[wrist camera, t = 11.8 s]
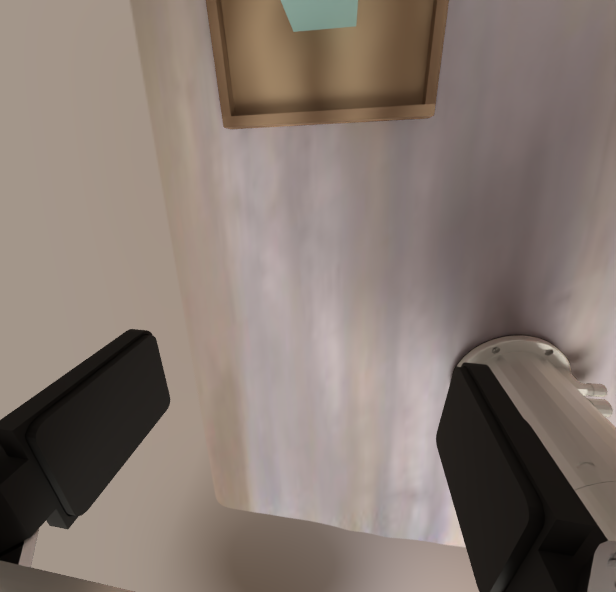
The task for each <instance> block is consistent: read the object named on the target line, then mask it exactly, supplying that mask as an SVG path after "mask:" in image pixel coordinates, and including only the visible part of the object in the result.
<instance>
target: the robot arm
mask: <svg viewBox="0 0 616 592" xmlns="http://www.w3.org/2000/svg"><path fill="white" fill-rule="evenodd" d="M585 395H588V396H596V397H605V396H606V395H607V389H606V387H605V386H604V385H602V384H592V383H587V384H581V383H580V382H579V381H578V380H577V379H576V378H575V377H573V376H572V375H571V367H570V364H569V361H568V360H567V358H566V357H565V355H564V354H563V353H562V352H561V351H560V350H559V349H557V348H556V347H555V346H554V345H552V344H551V343H549V342H547V341H545V340H542V339H540V338H536V337H531V336H517V335H515V336H506V337H501V338H497V339H493V340H491V341H488V342H486V343H483V344H481V345H480V346H478V347H476V348H474V349H473V350H472V351H470V352H469V353H468V354H467V355H465V356H464V358H463V359H462V360H461V361H460V362H459V364H458V365H457V367H456V368H455V369H454V372H453V376H452V379H451V383H450V387H449V390H448V394H447V398H446V401H445V405H444V409H443V412H442V416H441V420H440V423H439V427H438V431H437V435H436V443H437V448H438V452H439V455H440V459H441V462H442V465H443V469H444V472H445V476H446V479H447V483H448V486H449V490H450V493H451V497H452V500H453V504H454V507H455V510H456V514H457V517H458V521H459V524H460V528H461V531H462V535H463V538H464V542H465V545H466V549H467V552H468V555H469V559H470V562H471V566H472V569H473V572H474V576H475V580H476V583H477V586H478V589H479V591H480V592H616V427H615V426H614V425H613V424H612V423H611V422H610V421H609V420H608V419H606V418H605V417H610V416H611V415H612V411H613V410H612V407H611V405H610V403H609V402H608V401H606V400H605V399H588V398H585ZM169 404H170V395H169V391H168V387H167V383H166V378H165V374H164V370H163V366H162V362H161V358H160V353H159V349H158V345H157V341H156V338H155V337H154V336H152V333H151V332H149V331H145V330H135V329H130V330H128V331H126V332H125V333H123V334H122V335H120V336H119V337H118V338H116V339H115V340H113V341H112V342H110V343H109V344H108V345H106V346H105V347H103V348H102V349H100V350H99V351H98V352H96V353H95V354H93V355H92V356H91V357H89V358H88V359H86V360H85V361H83V362H82V363H81V364H79V365H78V366H76V367H75V368H74V369H72V370H71V371H69V372H68V373H67V374H65V375H64V376H62V377H61V378H60V379H58V380H57V381H55V382H54V383H52V384H51V385H49V386H48V387H47V388H45V389H44V390H42V391H41V392H40V393H38V394H37V395H35V396H34V397H33V398H31V399H30V400H28V401H27V402H25V403H24V404H23V405H21V406H20V407H18V408H17V409H15V410H14V411H13V412H11V413H10V414H8V415H7V416H5V417H4V418H3V419H1V420H0V592H134V591H130V590H125V589H121V588H117V587H113V586H108V585H104V584H100V583H96V582H91V581H87V580H83V579H78V578H74V577H69V576H65V575H61V574H56V573H52V572H48V571H43V570H39V569H34V568H31V564H32V559H33V555H34V550H35V545H36V541H37V536H38V531H39V527H40V526H41V525H42V524H43V523H44V522H45V521H46V520H47V522H48V524H49V525H50V526H55V527H60V528H64V529H69V527H70V526H71V525H72V524H73V523H74V521H75V520H76V519H77V517H78V516H80V515H83V514H84V513H85V512H86V511H87V510H88V509H89V508H90V507H91V505H92V504H93V503H94V502H95V500H96V499H97V498H98V497H99V495H100V494H101V493H102V491H103V490H104V489H105V488H106V486H107V485H108V483H110V481H111V480H112V479H113V477H114V476H115V475H116V474H117V472H118V471H119V470H120V469H121V467H122V466H123V465H124V463H125V462H126V461H127V460H128V458H129V457H130V456H131V455H132V453H133V452H134V451H135V450H136V448H137V447H138V445H139V444H140V443H141V442H142V441H143V439H144V438H145V437H146V436H147V434H148V433H149V432H150V431H151V429H152V428H153V427H154V426H155V424H156V423H157V422H158V420H159V419H160V418H161V417H162V415H163V414H164V413H165V412H166V410H167V409H168V407H169Z"/></svg>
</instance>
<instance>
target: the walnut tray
mask: <svg viewBox="0 0 616 592" xmlns="http://www.w3.org/2000/svg"><path fill="white" fill-rule="evenodd" d="M448 3H449V0H358V9H357V23H356V26H354V27H343V28H332V29H320V30H309V31H298V32H293V29H292V27H291V24H290V22H289V20H288V17H287V15H286V12H285V10H284V8H283V5H282V3H281V0H206V5H207V12H208V19H209V26H210V33H211V40H212V48H213V55H214V62H215V69H216V76H217V83H218V91H219V98H220V105H221V112H222V119H223V126H224V128H228V129H243V128H261V127H279V126H297V125H315V124H333V123H351V122H369V121H387V120H405V119H424V118H430V117H432V116H434V112H435V104H436V96H437V88H438V81H439V73H440V65H441V57H442V50H443V42H444V34H445V26H446V19H447V11H448Z"/></svg>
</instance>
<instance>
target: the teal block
mask: <svg viewBox="0 0 616 592" xmlns="http://www.w3.org/2000/svg"><path fill="white" fill-rule="evenodd" d="M281 3H282V5H283V8H284V10H285V12H286V15H287V17H288V20H289V22H290V24H291V27H292V29H293V32H298V31H309V30H320V29H332V28H343V27H354V26H356V23H357V9H358V0H281Z"/></svg>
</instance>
